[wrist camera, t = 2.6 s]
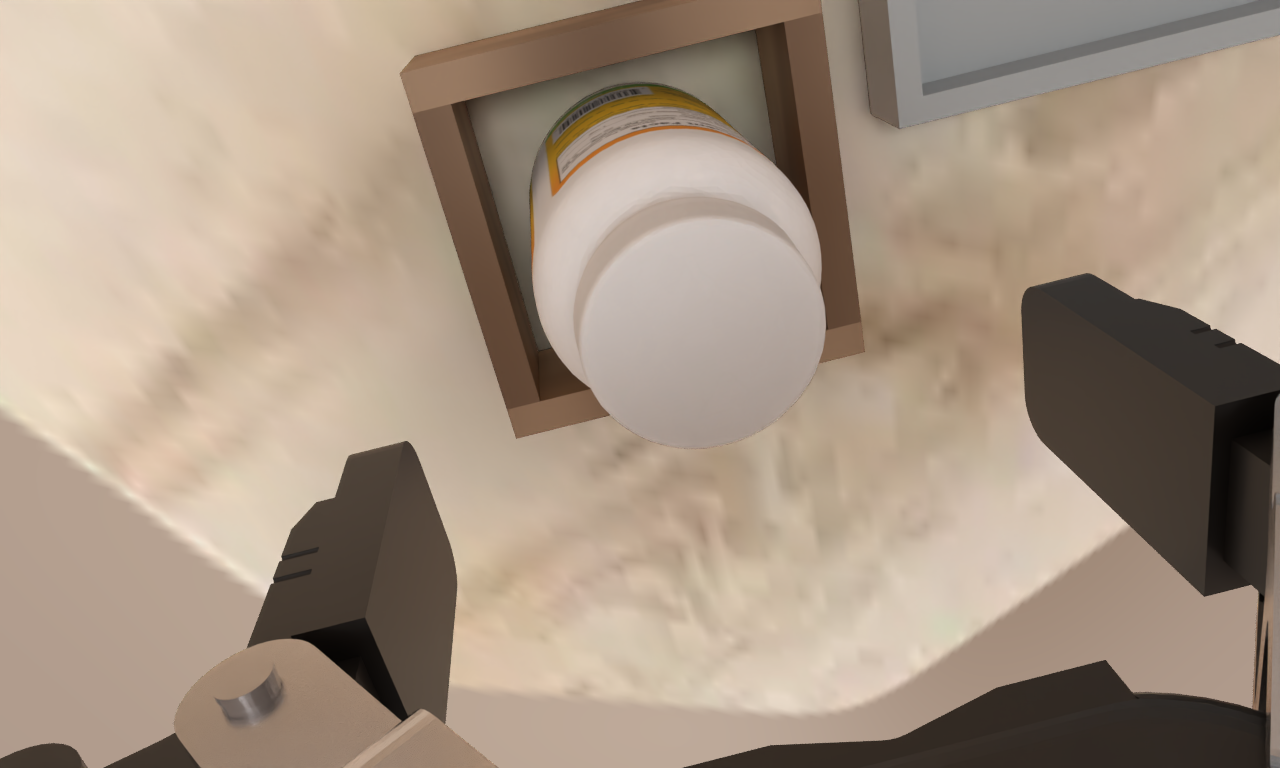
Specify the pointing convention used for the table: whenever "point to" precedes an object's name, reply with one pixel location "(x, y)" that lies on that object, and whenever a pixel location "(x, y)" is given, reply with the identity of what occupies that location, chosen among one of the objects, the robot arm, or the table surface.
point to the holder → (663, 20)
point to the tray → (1033, 46)
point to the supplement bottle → (674, 267)
